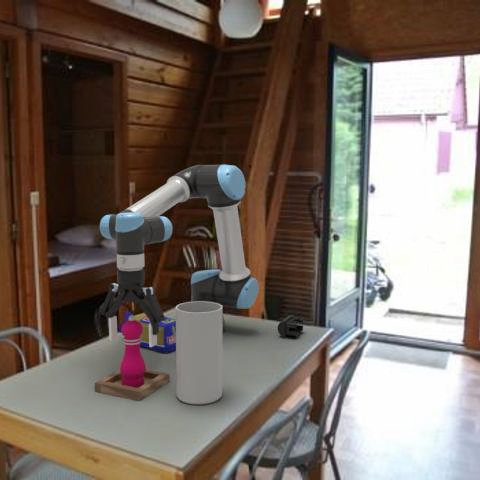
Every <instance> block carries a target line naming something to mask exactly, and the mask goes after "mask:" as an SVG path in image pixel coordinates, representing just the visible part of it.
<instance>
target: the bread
mask: <svg viewBox="0 0 480 480" xmlns="http://www.w3.org/2000/svg"><path fill="white" fill-rule="evenodd" d="M124 313H125V314H124V321H123V322H122V323H121V324H120V325H119V328H118V333H120V334H122V332H121V328H122V325H123V324H124V323H125V322H126V321H129V316H131V315H133V316H135V320H136V321H138V322H140V323H141V324H142V326H143V333H142V334H141V335H140V337H141V343H140V347H142V348H146V349H150V350H152V351H153V350H154V351H157V352H161V353H163V354H169V353H171V352H175V351H176V318H175V319H174V318H171V317H169V316H168V317H167V316H165V320H164V321H161V322H159V333H158V334H157V345H155V346H153V347H149V324H150V323H151V322H150V320H149V319H148V317H147V316H146V314H145V313H144V312H142V313H139V314H136V315H134V314H132V313H131V312H129V311H127V310H126V311H125V312H124Z"/></svg>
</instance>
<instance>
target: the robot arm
mask: <svg viewBox="0 0 480 480" xmlns="http://www.w3.org/2000/svg"><path fill="white" fill-rule="evenodd" d="M246 185H247V184H246V180H245V176H244V173H243V172H242V170H241V169H240V168H238V166H236V165H232V164H231V165H230V164H226V163H225V164H197V165H193V166H190V167H188V168H186V169H185V168H184V169H182V170H181V171H179V172H177V173H176V174H174V175H173V176H171V177H169V178H168V179H167V181H166V183H165V184H164V185H162V186H160V187H158V188H157V189H156V190H154V191H152V192H151V193H150V194H148V195H146V196H145V197H143V198H141V199H140V200H138V201H137V202H135V203H134V204H132V205H130V206H129V207H127V208H125V209H124V210H122V211H121V212H119V213H117V214H115V213H113V214H111V213H110V214H107V215H104V216H103V217H102V218H101V219H100V222H99V230H100V234H101V236H102V237H103V238H105V239H108V240H113V241H115V243H116V244H115V245H116V246H115V247H116V268H117V271H116V275H117V276H116V277H117V278H116V280H117V282H114V283H110V284H109V285H108V293H107V295H106V297H105V300H104V302H103V305H102V307H101V310H100V312H99V313H100V315H104V316H105V318H106V327H107V329H108V338H109V339H108V340H109V341H113V340H116V339H118V320H117V319H118V318H117V315H116V313H117V312H118V310H119V309H120V307H121V306H123V304H124V302H131V303H136V304H137V305H138V306H139V308H141V310H142V311H143V313H145V314H146V316H147V317H148V319H149V320H150V322H151V323H150V324H149V347H153V346H155V345H157V334H158V333H159V322H161V321H164V320H165V317H166V316H165V315H164V312H163V310H162V308H161V306H160V303H159V301H158V299H157V295H156V291H155V287H154V286H150V287H146V286H145V280H146V279H145V278H146V276H145V275H146V274H145V273H146V272H145V271H146V270H145V269H144V267H145V266H146V265H145V264H146V263H145V245H151V244H156V243H159V244H160V243H162V242H165V241H167V240H169V239H170V238H171V236H172V234H173V224H172V222H171V220H170V219H169V218H168V217H166V216H163V214H164V213H165V212H166V211H168V210H170V209H171V208H172V207H174V206H175V205H176V204H178V203H184V202H187V201H188V200H191V199H206V201H207V207H208V208H209V209H211V210H212V211H213V218H214V224H215V229H216V230H215V231H216V237H217V243H218V250H219V255H220V256H219V257H220V263H221V264H220V265H221V269H217V268H216V269H215V268H213V269H205V270H198V271H194V273H192V274H191V281H190V287H191V288H190V291H191V294H190V295H191V297H190V298H191V300H190V302H196V301H204V302H214V303H218V304H220V305H222V307H228V308H233V309H234V308H235V309H242V310H243V309H245V310H246V309H249V308H251V307H253V306H254V304H255V302H256V300H257V297H258V294H259V281H258V280H257V278H255V277H252V276H251V275H252V274H251V270H250V269H249V268H248V267H247V266H246V262H245V253H244V247H243V246H244V245H243V239H242V232H241V224H240V217H239V209H238V206H239V204H240V203H241V202H242V198H243V197H244V195H245V193H246V190H245V189H246V187H247V186H246ZM161 215H162V216H161ZM118 292H119V295H118V296H117V293H118ZM116 296H117V297H116ZM115 298H116V299H115ZM114 300H115V301H114ZM226 322H227V321H226V320H225V316H224V314H223V312H222V333H224V332H225V331H226V329H227V323H226Z"/></svg>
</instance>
